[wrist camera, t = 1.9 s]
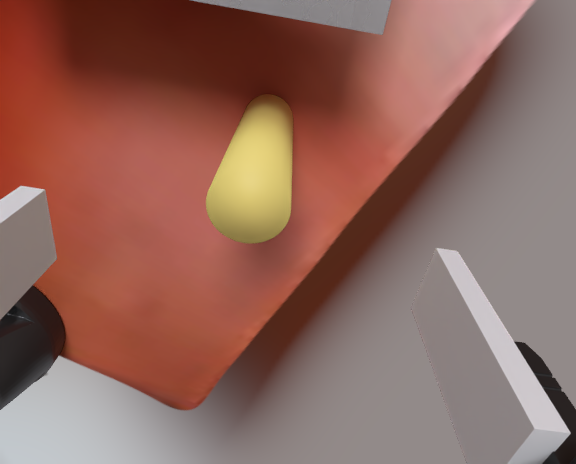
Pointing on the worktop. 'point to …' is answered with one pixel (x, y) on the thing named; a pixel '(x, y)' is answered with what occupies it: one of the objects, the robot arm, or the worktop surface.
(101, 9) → the worktop surface
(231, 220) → the pin
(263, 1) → the gray slab
